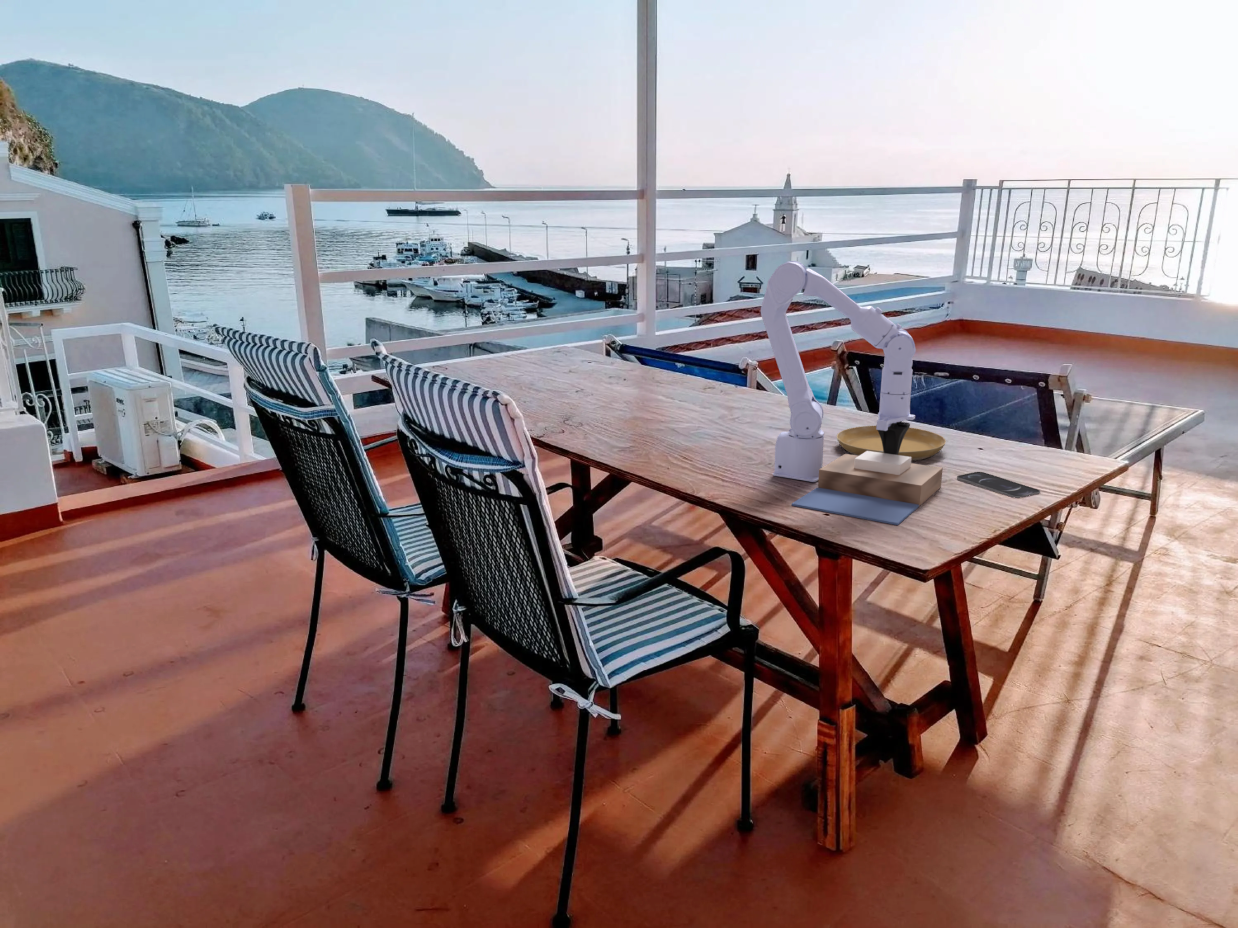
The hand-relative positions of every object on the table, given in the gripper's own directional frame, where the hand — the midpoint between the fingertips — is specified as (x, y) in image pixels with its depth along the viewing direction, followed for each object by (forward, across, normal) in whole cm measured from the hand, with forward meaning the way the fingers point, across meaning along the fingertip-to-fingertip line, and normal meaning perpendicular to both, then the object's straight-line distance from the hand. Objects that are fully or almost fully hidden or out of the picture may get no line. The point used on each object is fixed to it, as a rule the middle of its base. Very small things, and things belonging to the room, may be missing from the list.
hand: (890, 458), depth 171 cm
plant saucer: (+5, +24, +8) cm, 26 cm away
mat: (+5, -19, 0) cm, 20 cm away
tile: (+1, -5, 0) cm, 5 cm away
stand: (+5, -6, 0) cm, 8 cm away
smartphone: (+5, +8, -19) cm, 21 cm away
